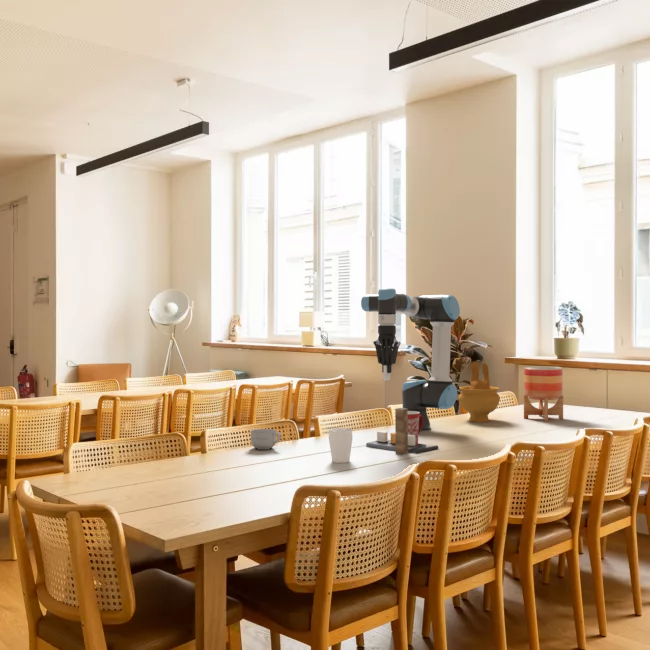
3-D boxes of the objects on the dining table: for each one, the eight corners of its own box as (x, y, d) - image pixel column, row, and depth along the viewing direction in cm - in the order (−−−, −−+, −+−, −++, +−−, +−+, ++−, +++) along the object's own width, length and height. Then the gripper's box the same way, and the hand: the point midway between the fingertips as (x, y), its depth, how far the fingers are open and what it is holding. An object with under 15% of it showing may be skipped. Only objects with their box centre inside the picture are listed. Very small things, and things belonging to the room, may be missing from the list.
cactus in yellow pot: (451, 421, 369) (451, 363, 368) (468, 416, 386) (468, 360, 385) (490, 424, 357) (490, 364, 356) (506, 419, 374) (505, 362, 373)
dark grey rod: (436, 448, 297) (436, 444, 297) (439, 448, 296) (439, 445, 296) (413, 453, 287) (413, 449, 287) (416, 453, 286) (416, 450, 286)
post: (400, 452, 289) (400, 407, 289) (407, 453, 287) (407, 408, 286) (395, 453, 286) (395, 408, 286) (402, 454, 284) (402, 409, 284)
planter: (521, 415, 386) (521, 366, 386) (559, 416, 383) (559, 366, 383) (526, 421, 366) (526, 369, 366) (566, 421, 364) (566, 369, 363)
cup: (325, 460, 275) (325, 428, 275) (346, 457, 279) (346, 427, 279) (334, 464, 267) (334, 432, 267) (356, 462, 270) (356, 430, 270)
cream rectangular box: (407, 444, 297) (407, 434, 297) (415, 445, 294) (415, 435, 294) (404, 444, 295) (404, 435, 295) (412, 445, 293) (412, 436, 293)
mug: (409, 446, 301) (409, 414, 301) (394, 443, 309) (394, 412, 308) (430, 442, 309) (430, 411, 309) (415, 439, 316) (415, 409, 316)
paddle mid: (393, 442, 301) (393, 432, 301) (401, 443, 299) (401, 433, 299) (390, 442, 300) (390, 433, 300) (398, 443, 297) (398, 434, 297)
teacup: (245, 449, 299) (245, 429, 299) (264, 445, 307) (264, 426, 307) (268, 453, 289) (267, 433, 289) (287, 449, 297) (287, 430, 297)
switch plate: (382, 442, 311) (382, 438, 311) (426, 448, 297) (426, 444, 297) (366, 446, 302) (366, 442, 302) (410, 452, 288) (410, 448, 288)
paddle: (379, 440, 306) (379, 431, 306) (387, 441, 303) (387, 431, 303) (377, 440, 304) (377, 431, 304) (384, 442, 302) (384, 432, 302)
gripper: (369, 324, 304) (369, 380, 304) (393, 325, 295) (393, 382, 296) (380, 324, 310) (380, 379, 310) (404, 325, 301) (404, 381, 301)
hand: (386, 380), depth 303 cm, fingers closed
